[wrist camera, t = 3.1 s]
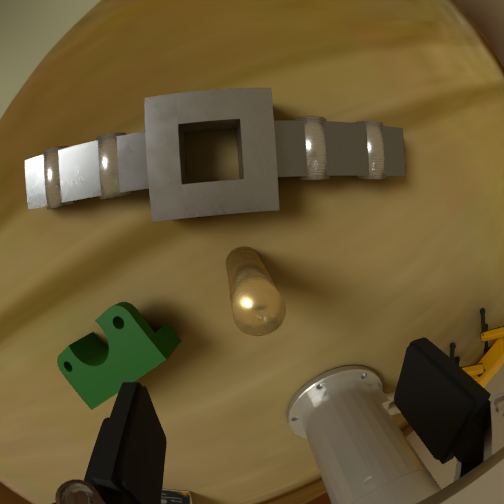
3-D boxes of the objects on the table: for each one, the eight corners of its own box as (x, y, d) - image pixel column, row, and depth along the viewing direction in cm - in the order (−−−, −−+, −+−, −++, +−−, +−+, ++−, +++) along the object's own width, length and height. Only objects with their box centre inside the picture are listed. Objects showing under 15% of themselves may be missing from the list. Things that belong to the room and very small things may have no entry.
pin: (259, 245, 25) (285, 285, 16) (261, 277, 26) (286, 332, 17) (224, 248, 25) (230, 291, 15) (227, 280, 26) (235, 338, 16)
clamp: (145, 292, 30) (136, 285, 21) (179, 336, 30) (183, 346, 21) (67, 354, 26) (35, 368, 17) (101, 396, 26) (80, 425, 17)
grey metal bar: (383, 109, 24) (405, 101, 20) (388, 200, 26) (412, 204, 22) (41, 137, 20) (18, 133, 16) (48, 230, 23) (26, 239, 19)
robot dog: (506, 299, 33) (561, 330, 20) (439, 378, 34) (488, 429, 21) (503, 276, 31) (564, 305, 18) (430, 361, 32) (487, 415, 20)
